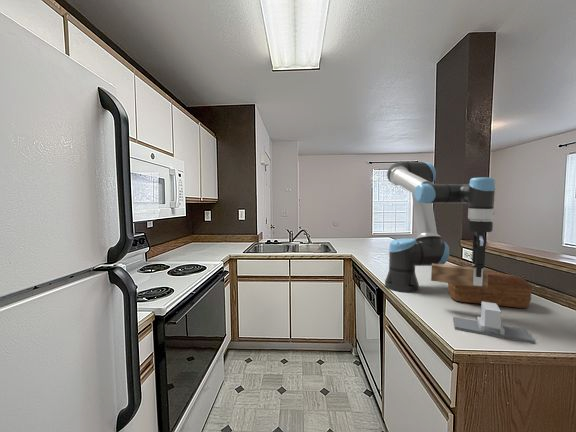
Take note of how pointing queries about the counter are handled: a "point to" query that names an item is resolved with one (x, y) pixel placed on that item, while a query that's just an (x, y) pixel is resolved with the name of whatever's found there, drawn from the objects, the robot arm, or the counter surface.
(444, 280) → the walnut beam
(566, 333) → the counter surface
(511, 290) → the bread
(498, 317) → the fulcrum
